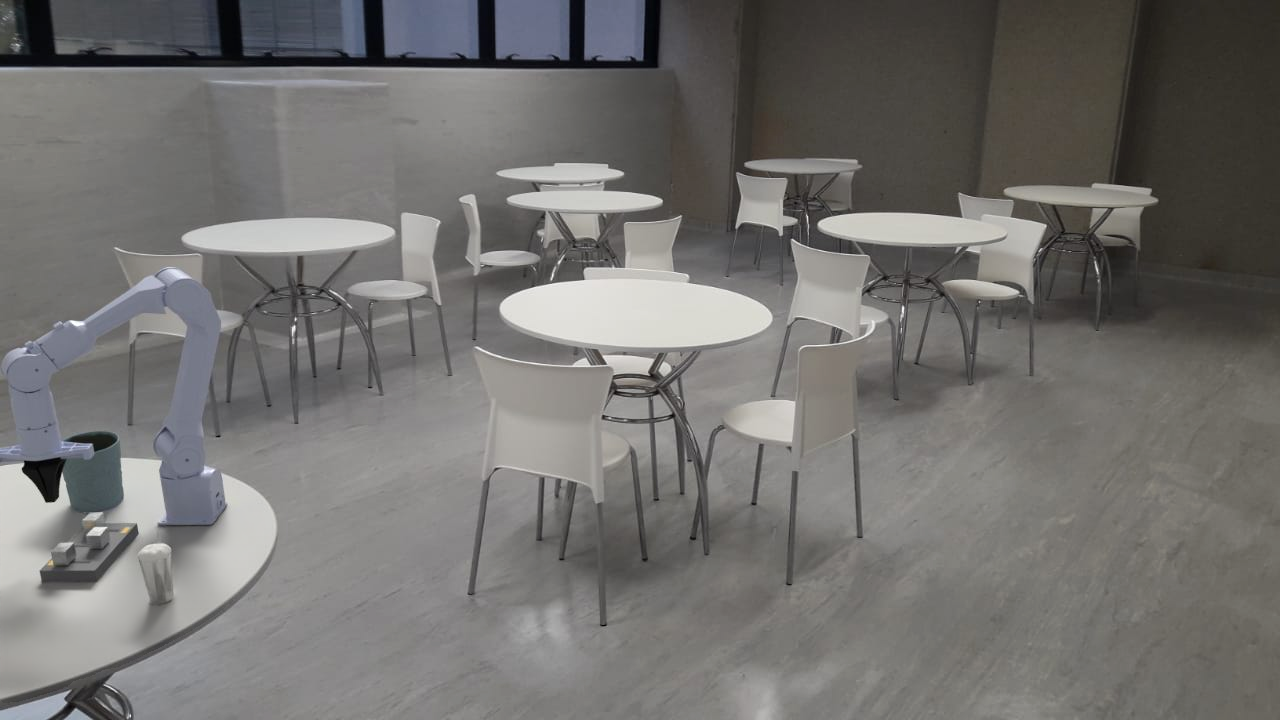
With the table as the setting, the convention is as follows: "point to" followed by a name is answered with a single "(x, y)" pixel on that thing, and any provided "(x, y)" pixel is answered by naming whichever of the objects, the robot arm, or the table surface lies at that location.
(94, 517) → the knob
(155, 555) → the milkshake
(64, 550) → the knob
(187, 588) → the table surface
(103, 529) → the knob
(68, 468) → the teal plant pot
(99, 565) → the switch panel
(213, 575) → the table surface
